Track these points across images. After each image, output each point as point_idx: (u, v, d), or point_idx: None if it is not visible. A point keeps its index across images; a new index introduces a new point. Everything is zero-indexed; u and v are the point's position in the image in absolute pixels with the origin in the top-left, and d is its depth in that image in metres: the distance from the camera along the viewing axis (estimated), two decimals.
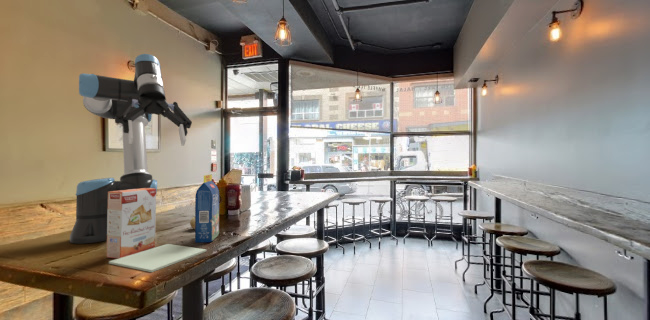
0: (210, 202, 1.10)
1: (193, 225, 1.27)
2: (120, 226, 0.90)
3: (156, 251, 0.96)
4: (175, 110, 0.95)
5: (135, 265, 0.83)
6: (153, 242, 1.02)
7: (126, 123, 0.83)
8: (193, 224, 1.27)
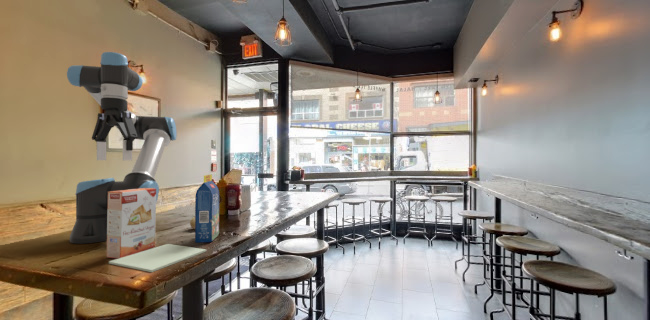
0: (210, 202, 1.10)
1: (193, 225, 1.27)
2: (120, 226, 0.90)
3: (156, 251, 0.96)
4: None
5: (135, 265, 0.83)
6: (153, 242, 1.02)
7: None
8: (193, 224, 1.27)
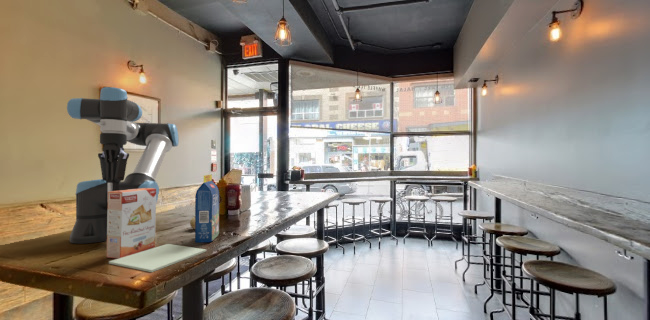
0: (210, 202, 1.10)
1: (193, 225, 1.27)
2: (120, 226, 0.90)
3: (156, 251, 0.96)
4: None
5: (135, 265, 0.83)
6: (153, 242, 1.02)
7: None
8: (193, 224, 1.27)
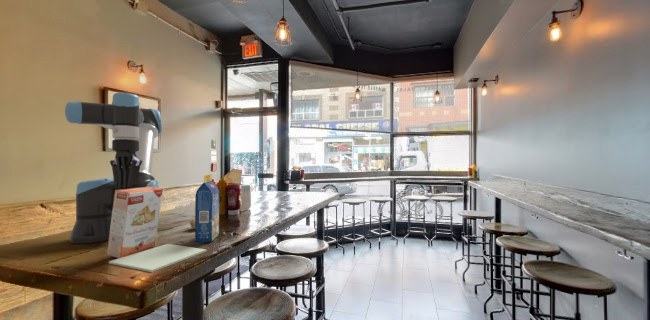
0: (210, 202, 1.10)
1: (193, 225, 1.27)
2: (124, 227, 0.89)
3: (156, 251, 0.96)
4: None
5: (135, 265, 0.83)
6: (154, 242, 1.02)
7: None
8: (193, 224, 1.27)
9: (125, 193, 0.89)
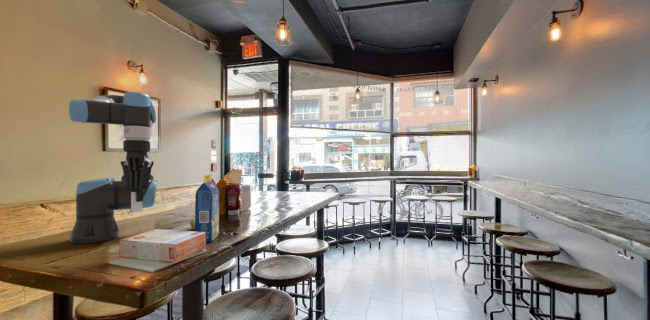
0: (210, 202, 1.10)
1: (193, 225, 1.27)
2: (145, 258, 0.87)
3: None
4: None
5: (135, 265, 0.83)
6: None
7: None
8: (193, 224, 1.27)
9: (174, 257, 0.85)
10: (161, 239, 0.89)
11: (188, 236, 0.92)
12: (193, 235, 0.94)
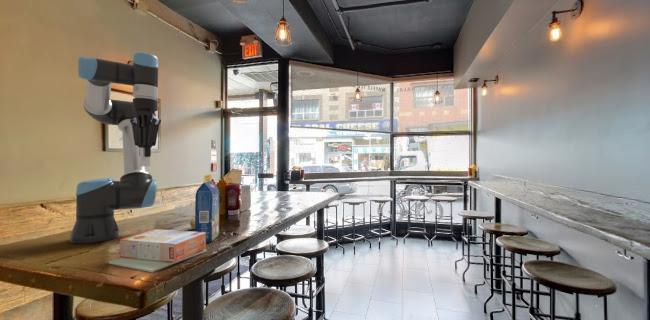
0: (210, 202, 1.10)
1: (193, 225, 1.27)
2: (145, 258, 0.87)
3: None
4: None
5: (135, 265, 0.83)
6: None
7: None
8: (193, 224, 1.27)
9: (174, 257, 0.85)
10: (161, 239, 0.89)
11: (188, 236, 0.92)
12: (193, 235, 0.94)
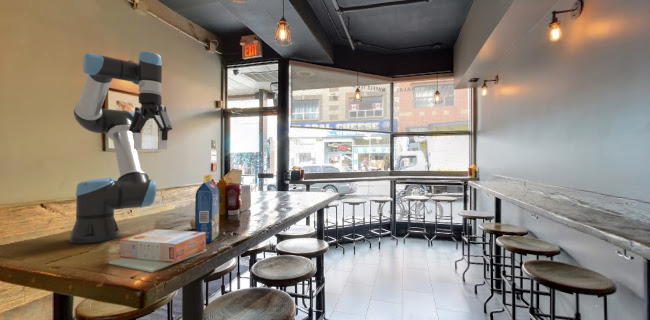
0: (210, 202, 1.10)
1: (193, 225, 1.27)
2: (145, 258, 0.87)
3: None
4: None
5: (135, 265, 0.83)
6: None
7: None
8: (193, 224, 1.27)
9: (174, 257, 0.85)
10: (161, 239, 0.89)
11: (188, 236, 0.92)
12: (193, 235, 0.94)
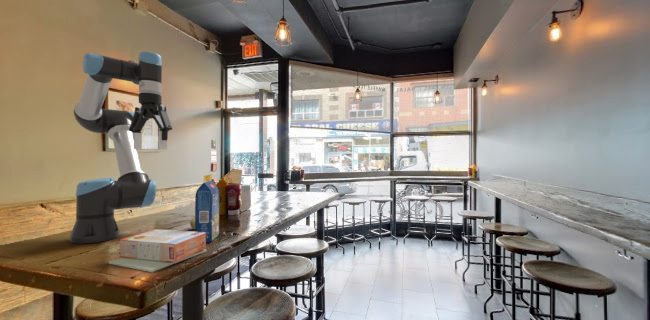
0: (210, 202, 1.10)
1: (193, 225, 1.27)
2: (145, 258, 0.87)
3: None
4: None
5: (135, 265, 0.83)
6: None
7: None
8: (193, 224, 1.27)
9: (174, 257, 0.85)
10: (161, 239, 0.89)
11: (188, 236, 0.92)
12: (193, 235, 0.94)
